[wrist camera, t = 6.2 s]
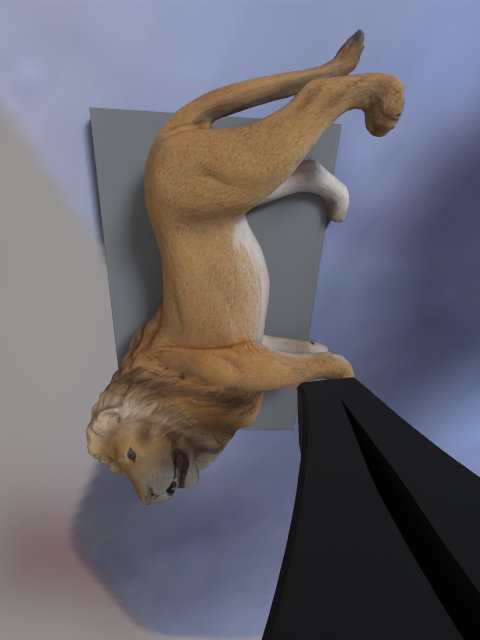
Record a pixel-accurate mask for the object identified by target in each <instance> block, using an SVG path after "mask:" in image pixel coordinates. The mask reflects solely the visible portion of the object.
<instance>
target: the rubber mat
mask: <svg viewBox="0 0 480 640" xmlns="http://www.w3.org/2000/svg"><path fill="white" fill-rule="evenodd" d="M89 109H90V118H91V127H92V136H93V145H94V154H95V163H96V172H97V181H98V190H99V199H100V208H101V217H102V225H103V234H104V243H105V252H106V261H107V270H108V279H109V288H110V297H111V306H112V315H113V324H114V333H115V342H116V351H117V359H118V369H120V368H121V364H122V361H123V359H124V357H125V356H126V354H127V353H128V350H129V346H130V342H131V340H132V338H133V336H134V334H135V333H136V331H137V330H138V329H139V328H140V327H141V326H142V325H143V324H144V322H145V321H147V320H148V319H149V318H150V317H151V316H152V315H153V313H154V312H155V310H156V308H157V305H158V302H159V301H160V299H161V298H163V273H162V261H161V255H160V250H159V246H158V243H157V239H156V236H155V233H154V230H153V227H152V224H151V221H150V218H149V215H148V211H147V207H146V202H145V187H144V180H145V168H146V161H147V158H148V154H149V151H150V148H151V146H152V144H153V142H154V140H155V138H156V136H157V134H158V132H159V131H160V130H161V128H162V127H163V126H164V124H165V123H166V122H167V121H168V120H169V118H170V117H171V116H172V115H173V114H175V113H164V112H149V111H134V110H118V109H103V108H89ZM259 120H261V119H255V118H240V117H222V118H220V119H218V120H215V121H214V122H213V124H212V129H222V128H232V127H239V126H244V125H248V124H251V123H254V122H257V121H259ZM340 130H341V124H331V125H330V126H329V127H328V128H327V130H326V131H325V132H324V133H323V134H322V136H321V137H320V138H319V140H318V141H317V143H316V144H315V145H314V147H313V148H312V149H311V150H310V151H309V153H308V154H307V155H306V157H305V158H304V159H303V160H308V159H313V160H316V161H318V162H319V163H320V164H321V165H322V166H323V167H324V168H325V169H326V170H327V171H329V172H330V173H331V174H332V175H334V169H335V162H336V156H337V150H338V143H339V137H340ZM303 160H302V161H303ZM245 216H246V219H247V222H248V225H249V227H250V228H251V230H252V232H253V234H254V236H255V238H256V239H257V241H258V243H259V245H260V247H261V249H262V252H263V255H264V258H265V262H266V266H267V270H268V274H269V281H270V286H269V300H268V307H267V313H266V318H265V328H264V333H263V334H264V335H268V336H273V337H281V338H288V339H295V340H308V334H309V328H310V322H311V315H312V309H313V303H314V296H315V290H316V283H317V277H318V271H319V264H320V258H321V252H322V245H323V239H324V232H325V226H326V220H327V206H326V202H325V200H324V199H323V198H322V197H321V196H319V195H317V194H314V193H310V192H297V193H292V194H289V195H286V196H283V197H281V198H278V199H275V200H273V201H270V202H267V203H265V204H262V205H259V206H256V207H253V208H252V209H250V210H249V211H248V212H247V213H245ZM300 384H301V383H300ZM300 384H297V385H293V386H288V387H283V388H278V389H272V390H265V391H264V393H263V395H262V402H261V405H260V410H259V413H258V415H257V417H256V419H255V421H254V422H253V424H252V425H251V426H248V427H243V428H240V429H268V430H294V424H295V417H296V411H297V405H298V401H297V387H298V386H299V385H300Z"/></svg>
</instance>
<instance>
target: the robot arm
mask: <svg viewBox="0 0 480 640" xmlns="http://www.w3.org/2000/svg"><path fill="white" fill-rule="evenodd" d="M297 401H298V425H299V445H300V451H301V461H300V469H299V477H298V485H297V492H296V498H295V504H294V510H293V515H292V521H291V525H290V530H289V535H288V540H287V545H286V549H285V553H284V558H283V562H282V566H281V570H280V574H279V579H278V583H277V587H276V591H275V594H274V598H273V602H272V606H271V609H270V613H269V617H268V620H267V624H266V627H265V630H264V634H263V637H262V640H480V477H479V476H477V475H476V474H474V473H473V472H472V471H470V470H469V469H467V468H466V467H465V466H463V465H462V464H460V463H459V462H458V461H456V460H455V459H454V458H452V457H451V456H449V455H448V454H447V453H445V452H444V451H443V450H441V449H440V448H439V447H437V446H436V445H435V444H434V443H432V442H431V441H430V440H428V439H427V438H426V437H425V436H423V435H422V434H421V433H420V432H418V431H417V430H416V429H415V428H413V427H412V426H411V425H410V424H408V423H407V422H406V421H405V420H404V419H402V418H401V417H400V416H399V415H398V414H396V413H395V412H394V411H393V410H392V409H390V408H389V407H388V406H387V405H386V404H385V403H383V402H382V401H381V400H380V399H379V398H378V397H376V396H375V395H374V394H373V393H372V392H371V391H369V390H368V389H367V388H366V387H365V386H364V385H362V384H361V383H360V382H359V381H358V380H357V379H355V378H354V377H348V378H339V379H330V380H321V381H312V382H303V383H301V384H300V385H299V386H298V387H297Z"/></svg>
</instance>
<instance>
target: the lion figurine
mask: <svg viewBox="0 0 480 640" xmlns="http://www.w3.org/2000/svg"><path fill="white" fill-rule="evenodd" d="M363 41H364V32H363V31H362V30H358V31H357V32H356V33H355V34H354V35H352V36H351V37H350V38H349V39H348V40H347V41H346V43H345V44H343V46H342V47H341V48H340V50H339V51H338V52H337V54H336V56H335V57H334V59H333V60H331V61H329V62H328V63H326V64H324V65H322V66H320V67H316V68H312V69H307V70H302V71H293V72H288V73H282V74H277V75H271V76H265V77H259V78H255V79H251V80H246V81H243V82H239V83H235V84H231V85H228V86H225V87H222V88H218V89H215V90H213V91H211V92H209V93H207V94H204V95H202V96H200V97H199V98H197V99H195V100H193V101H191V102H190V103H188V104H187V105H185V106H184V107H182V108H181V109H179V110H178V111H177V112H176V113H175V114H173V115H172V116H171V117H170V118H169V120H168V121H167V122H166V123H165V124H164V126H163V127H162V128H161V130H160V131H159V132H158V134H157V136H156V138H155V140H154V142H153V144H152V146H151V148H150V151H149V154H148V158H147V161H146V168H145V180H144V187H145V202H146V207H147V211H148V215H149V218H150V221H151V224H152V227H153V230H154V233H155V236H156V239H157V243H158V246H159V250H160V255H161V261H162V273H163V298H161V299H160V301H159V302H158V305H157V308H156V310H155V312H154V313H153V315H152V316H151V317H150V318H149V319H148V320H147V321H145V322H144V324H143V325H142V326H141V327H140V328H139V329H138V330H137V331H136V333H135V334H134V336H133V338H132V340H131V342H130V346H129V350H128V353H127V354H126V356H125V357H124V359H123V361H122V364H121V368H120V369H119V370H117V371H116V372H115V373H114V375H113V377H112V380H111V383H110V384H109V385H108V386H107V388H106V389H105V391H104V392H102V393H101V395H100V397H99V401H98V402H97V403H96V404H95V405H94V406H93V408H92V418H91V422H90V423H89V425H88V427H87V431H86V432H87V440H88V453H89V454H90V455H92V456H93V457H94V458H95V459H98V460H99V462H100V463H103V464H108V465H109V468H110V471H111V472H115V473H117V472H121V474H122V475H124V476H127V477H129V478H130V480H131V482H132V484H133V485H134V487H135V489H136V492H137V494H138V496H139V498H140V500H141V501H142V503H144V504H146V505H149V504H150V503H151V502H158V501H163V500H166V499H169V498H170V497H171V496H172V495H173V493H174V491H175V489H177V488H185V487H191V486H195V485H196V484H197V483H198V481H199V473H198V472H199V471H200V470H203V469H204V468H206V467H207V466H208V465H209V464H211V463H212V462H214V461H215V460H216V458H217V457H218V455H219V454H220V453H221V452H222V451H223V449H224V448H225V446H226V444H227V442H228V441H229V440H230V439H231V438H232V437H233V436H234V434H235V432H236V431H237V430H238V429H240V428H243V427H248V426H251V425H252V424H253V422H254V421H255V419H256V417H257V415H258V413H259V410H260V405H261V402H262V395H263V393H264V391H265V390H272V389H278V388H283V387H288V386H293V385H297V384H300V383H303V382H307V381H310V380H314V379H320V378H323V379H328V380H330V379H339V378H348V377H354V372H353V369H352V366H351V364H350V363H349V362H348V361H347V360H346V359H345V358H344V357H343V356H341V355H335V354H334V352H329V351H328V348H327V347H326V346H325V345H324V344H321V343H318V342H315V341H308V340H295V339H288V338H281V337H273V336H268V335H264V334H263V333H264V328H265V318H266V313H267V307H268V300H269V286H270V281H269V274H268V270H267V266H266V262H265V258H264V255H263V252H262V249H261V247H260V245H259V243H258V241H257V239H256V238H255V236H254V234H253V232H252V230H251V228H250V227H249V225H248V222H247V219H246V216H245V213H247V212H248V211H249V210H250V209H252V208H253V207H256V206H259V205H262V204H265V203H267V202H270V201H273V200H275V199H278V198H281V197H283V196H286V195H289V194H292V193H297V192H310V193H314V194H317V195H319V196H321V197H322V198H323V199H324V200H325V202H326V206H327V217H328V218H329V219H330V220H332V221H334V222H343V221H344V219H345V217H346V214H347V209H348V204H349V193H348V190H347V188H346V186H345V185H344V184H343V183H341V182H340V181H339V180H338V179H337V178H335V177H334V176H333V175H332V174H331V173H330V172H329V171H327V170H326V169H325V168H324V167H323V166H322V165H321V164H320V163H319V162H318V161H316V160H313V159H308V160H303V159H304V158H305V157H306V155H307V154H308V153H309V151H310V150H311V149H312V148H313V147H314V145H315V144H316V143H317V141H318V140H319V138H320V137H321V136H322V134H323V133H324V132H325V131H326V130H327V128H328V127H329V126H330V125H331V124H332V123H333V122H334V121H335V120H336V119H337V118H338V117H339V116H340V115H342V114H343V113H345V112H346V111H348V110H352V109H361V110H363V112H364V114H365V124H366V129H367V130H368V131H369V132H370V133H371V135H373V136H377V137H382V136H385V135H386V134H387V133H388V132H389V131H390V130H391V129H393V128H394V127H395V126H396V124H397V123H398V121H399V118H400V116H401V114H402V111H403V106H404V87H403V84H402V83H401V82H400V81H399V80H398V79H397V78H395V77H394V76H391V75H387V74H380V73H364V74H356V75H348V74H349V73H350V72H351V71H353V70H354V69H355V67H356V65H357V64H358V62H359V59H360V55H361V52H362V50H363V49H364V43H363ZM347 75H348V76H347ZM293 95H296V96H295V97H294V98H293V99H292V100H291V101H290V102H289V103H288V104H287V105H286V106H284V107H283V108H282V109H280V110H279V111H277V112H275V113H273V114H271V115H269V116H267V117H265V118H263V119H261V120H259V121H257V122H254V123H251V124H248V125H244V126H239V127H232V128H222V129H212V124H213V122H214V121H215V120H218V119H220V118H222V117H225V116H228V115H231V114H234V113H237V112H240V111H243V110H246V109H249V108H252V107H255V106H258V105H261V104H265V103H268V102H271V101H275V100H279V99H283V98H287V97H290V96H293ZM302 160H303V161H302ZM354 378H355V377H354Z"/></svg>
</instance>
